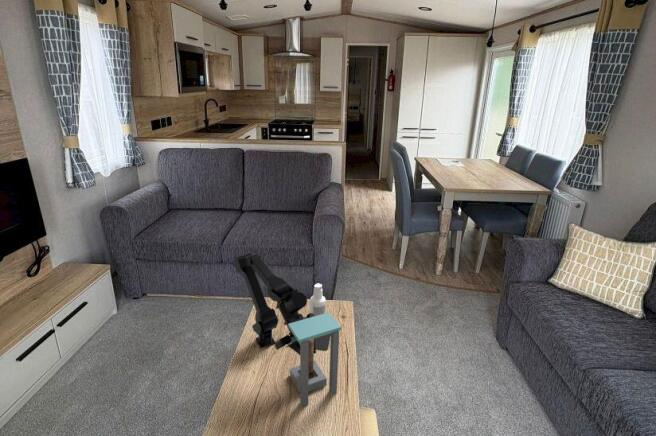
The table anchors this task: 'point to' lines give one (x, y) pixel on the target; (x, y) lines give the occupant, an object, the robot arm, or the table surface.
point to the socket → (313, 383)
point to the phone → (322, 342)
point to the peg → (311, 355)
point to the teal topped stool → (303, 333)
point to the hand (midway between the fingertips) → (310, 356)
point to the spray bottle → (317, 301)
